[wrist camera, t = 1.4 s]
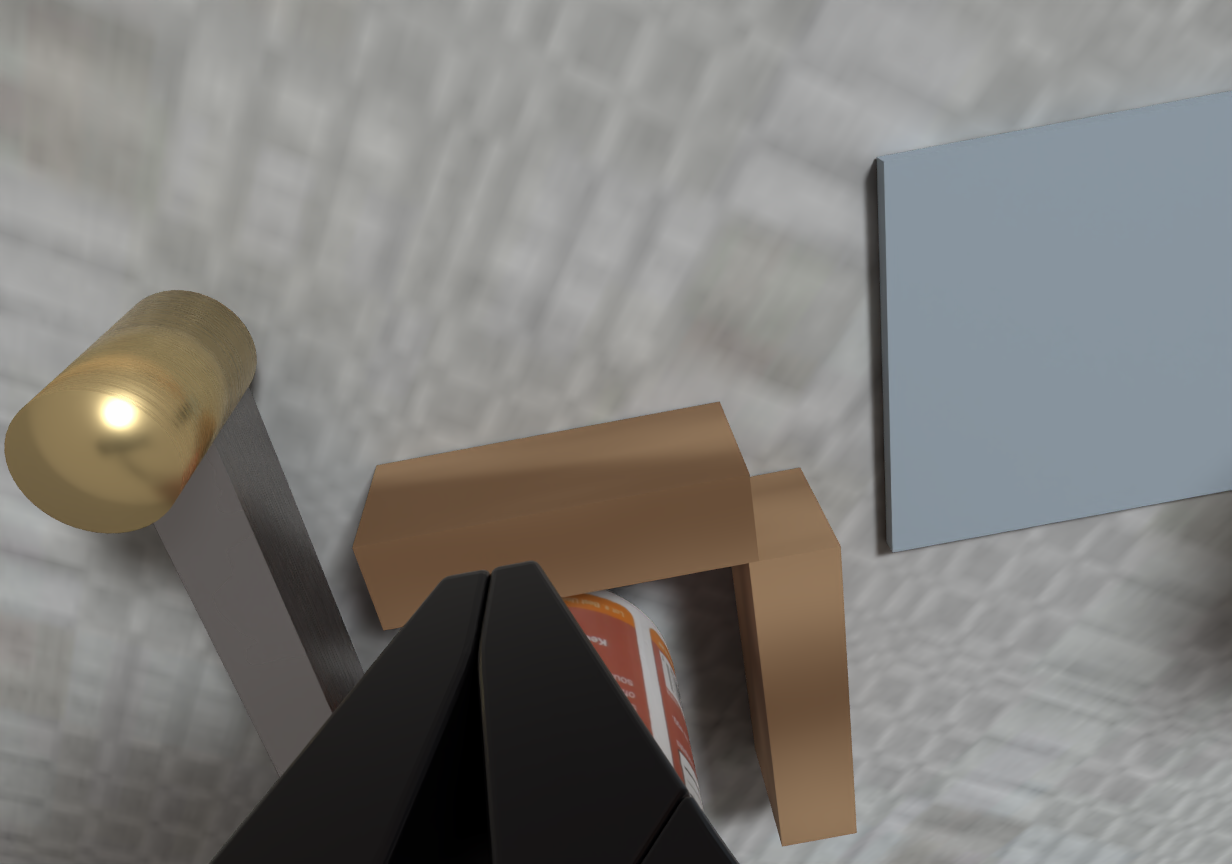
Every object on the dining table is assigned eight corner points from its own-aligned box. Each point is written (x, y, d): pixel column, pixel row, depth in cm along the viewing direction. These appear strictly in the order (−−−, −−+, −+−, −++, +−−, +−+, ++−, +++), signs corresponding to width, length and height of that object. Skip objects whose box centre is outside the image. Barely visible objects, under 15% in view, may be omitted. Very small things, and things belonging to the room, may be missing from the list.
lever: (459, 851, 24) (446, 1016, 20) (355, 870, 24) (324, 1038, 20) (239, 277, 16) (155, 373, 13) (87, 305, 16) (-42, 411, 13)
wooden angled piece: (823, 769, 25) (858, 867, 22) (350, 856, 25) (329, 964, 22) (793, 387, 19) (835, 458, 17) (182, 501, 19) (127, 589, 17)
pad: (1264, 472, 21) (1276, 481, 21) (886, 542, 21) (892, 552, 21) (1349, 68, 17) (1366, 70, 17) (876, 156, 17) (884, 161, 17)
